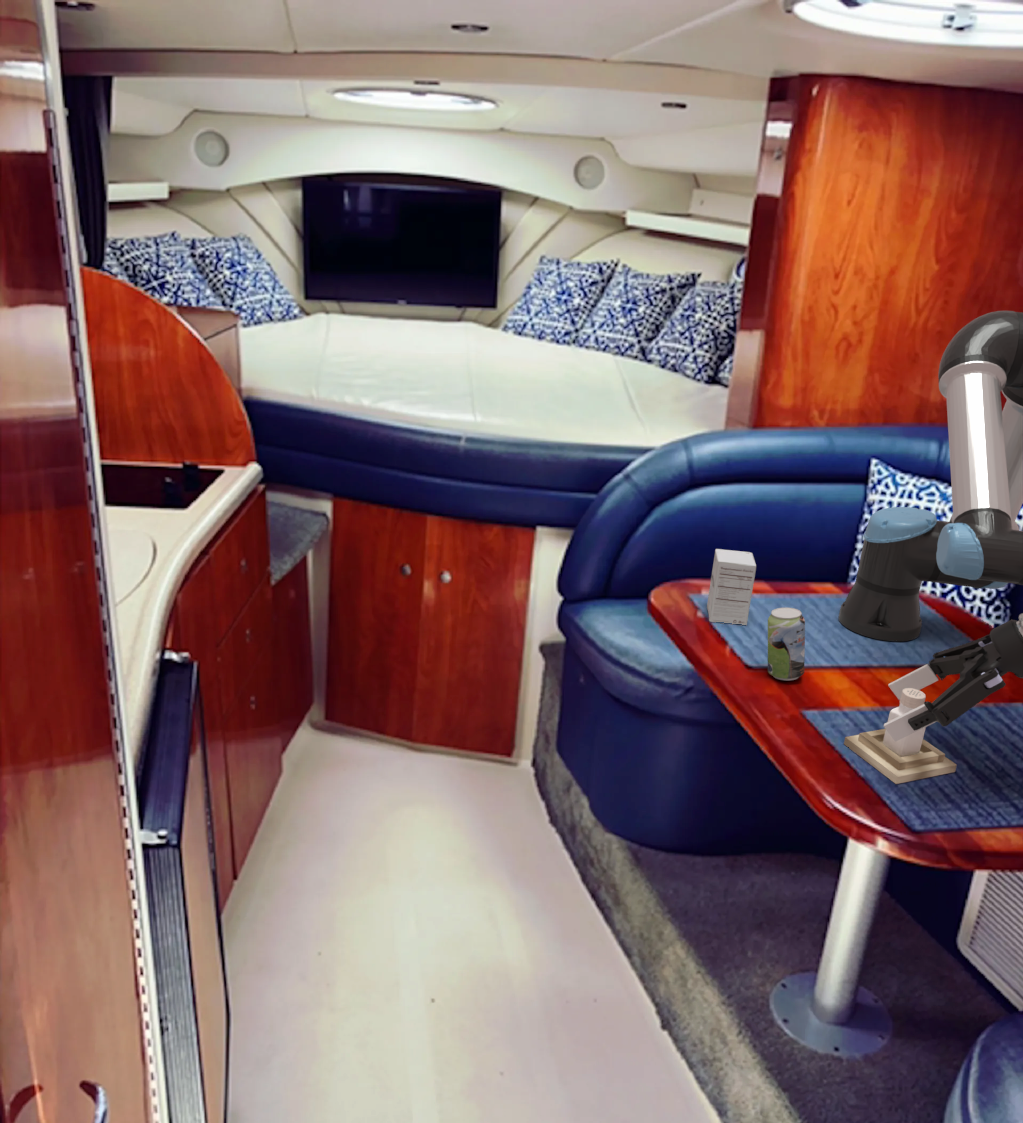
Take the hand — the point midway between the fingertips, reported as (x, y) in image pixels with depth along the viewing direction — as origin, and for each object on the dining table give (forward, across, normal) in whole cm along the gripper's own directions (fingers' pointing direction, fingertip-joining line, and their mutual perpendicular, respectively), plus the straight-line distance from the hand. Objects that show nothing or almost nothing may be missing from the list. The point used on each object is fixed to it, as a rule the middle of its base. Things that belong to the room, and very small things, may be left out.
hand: (891, 711), depth 141 cm
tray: (+3, 0, -7) cm, 7 cm away
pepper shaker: (+3, 0, -6) cm, 7 cm away
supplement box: (+27, +39, +17) cm, 50 cm away
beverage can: (+18, +18, +7) cm, 26 cm away
